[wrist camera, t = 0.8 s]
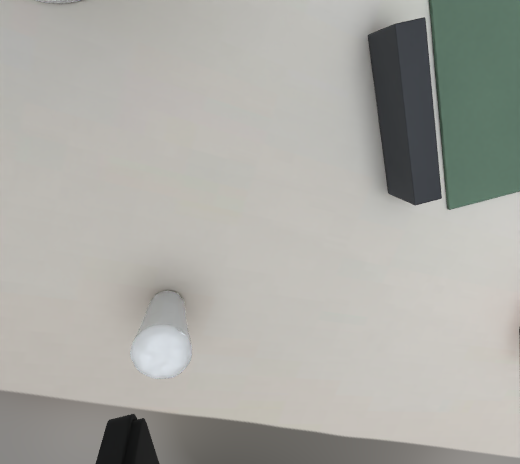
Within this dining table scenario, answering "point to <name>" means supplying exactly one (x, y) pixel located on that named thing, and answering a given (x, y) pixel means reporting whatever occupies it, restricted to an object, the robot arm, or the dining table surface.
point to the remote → (406, 110)
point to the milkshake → (163, 338)
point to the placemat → (478, 96)
